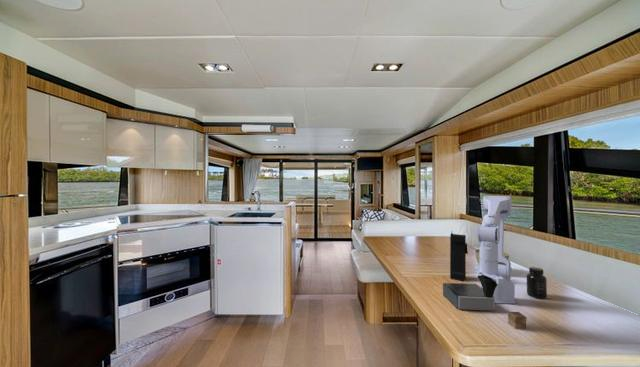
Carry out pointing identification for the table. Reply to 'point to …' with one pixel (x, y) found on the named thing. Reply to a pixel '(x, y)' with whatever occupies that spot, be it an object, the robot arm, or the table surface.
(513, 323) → the walnut block
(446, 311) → the table surface
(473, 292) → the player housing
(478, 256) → the planter bowl
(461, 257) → the portable radio
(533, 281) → the supplement bottle
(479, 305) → the tray
